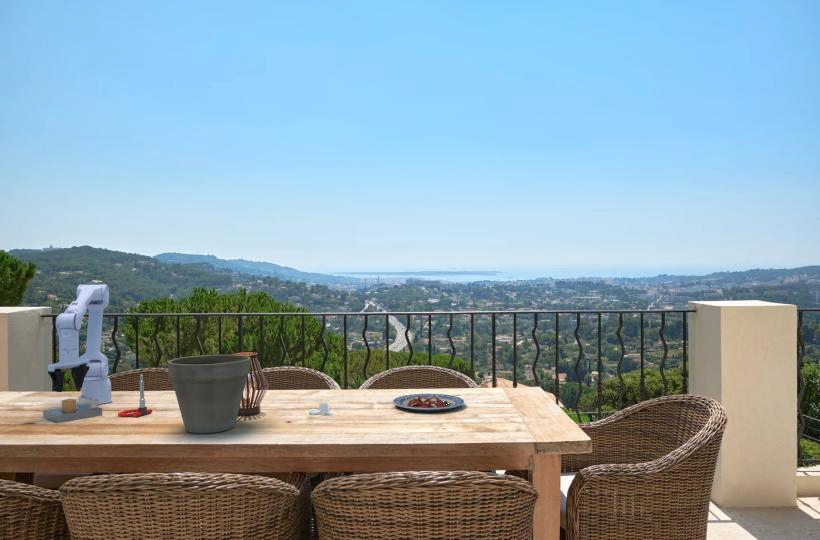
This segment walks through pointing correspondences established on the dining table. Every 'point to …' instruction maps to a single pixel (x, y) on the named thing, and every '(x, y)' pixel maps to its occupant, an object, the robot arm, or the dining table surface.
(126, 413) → the tow hook
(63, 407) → the tan rectangular block
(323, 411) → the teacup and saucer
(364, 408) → the dining table surface
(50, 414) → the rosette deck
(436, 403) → the ceramic plate
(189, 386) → the plant pot
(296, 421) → the dining table surface
